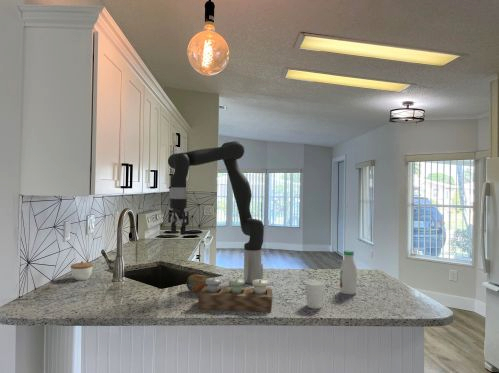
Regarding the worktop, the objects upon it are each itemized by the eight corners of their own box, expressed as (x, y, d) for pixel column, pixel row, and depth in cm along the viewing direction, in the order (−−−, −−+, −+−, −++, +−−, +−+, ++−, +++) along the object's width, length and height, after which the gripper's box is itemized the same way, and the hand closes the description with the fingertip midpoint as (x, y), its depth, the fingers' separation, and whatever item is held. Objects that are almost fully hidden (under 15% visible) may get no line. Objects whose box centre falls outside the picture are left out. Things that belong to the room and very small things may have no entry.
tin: (185, 291, 175) (186, 273, 175) (189, 289, 178) (190, 272, 178) (212, 296, 168) (212, 277, 168) (216, 294, 171) (216, 276, 171)
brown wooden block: (272, 302, 160) (272, 288, 160) (271, 311, 148) (271, 297, 148) (204, 299, 163) (204, 286, 163) (198, 308, 151) (198, 294, 151)
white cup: (320, 310, 150) (320, 286, 150) (302, 307, 154) (302, 283, 154) (327, 305, 157) (327, 282, 157) (309, 302, 161) (310, 279, 161)
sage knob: (245, 290, 158) (245, 278, 158) (243, 295, 152) (243, 282, 152) (229, 290, 159) (230, 278, 159) (227, 294, 152) (227, 282, 152)
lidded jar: (87, 281, 190) (87, 263, 190) (66, 281, 191) (66, 263, 191) (96, 276, 201) (96, 259, 201) (76, 276, 201) (76, 259, 201)
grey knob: (222, 290, 159) (222, 277, 159) (219, 294, 153) (219, 281, 153) (207, 289, 160) (207, 277, 160) (203, 293, 153) (204, 281, 153)
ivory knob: (268, 291, 157) (268, 279, 157) (267, 296, 151) (267, 283, 151) (252, 291, 158) (252, 278, 158) (251, 295, 151) (251, 282, 151)
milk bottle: (359, 292, 176) (359, 251, 176) (351, 296, 170) (352, 253, 170) (344, 289, 181) (345, 249, 181) (336, 292, 176) (337, 251, 176)
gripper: (193, 198, 162) (193, 234, 162) (177, 197, 172) (177, 231, 173) (178, 198, 157) (178, 236, 157) (163, 197, 168) (163, 232, 168)
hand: (178, 233), depth 165 cm, fingers open, 8 cm apart
